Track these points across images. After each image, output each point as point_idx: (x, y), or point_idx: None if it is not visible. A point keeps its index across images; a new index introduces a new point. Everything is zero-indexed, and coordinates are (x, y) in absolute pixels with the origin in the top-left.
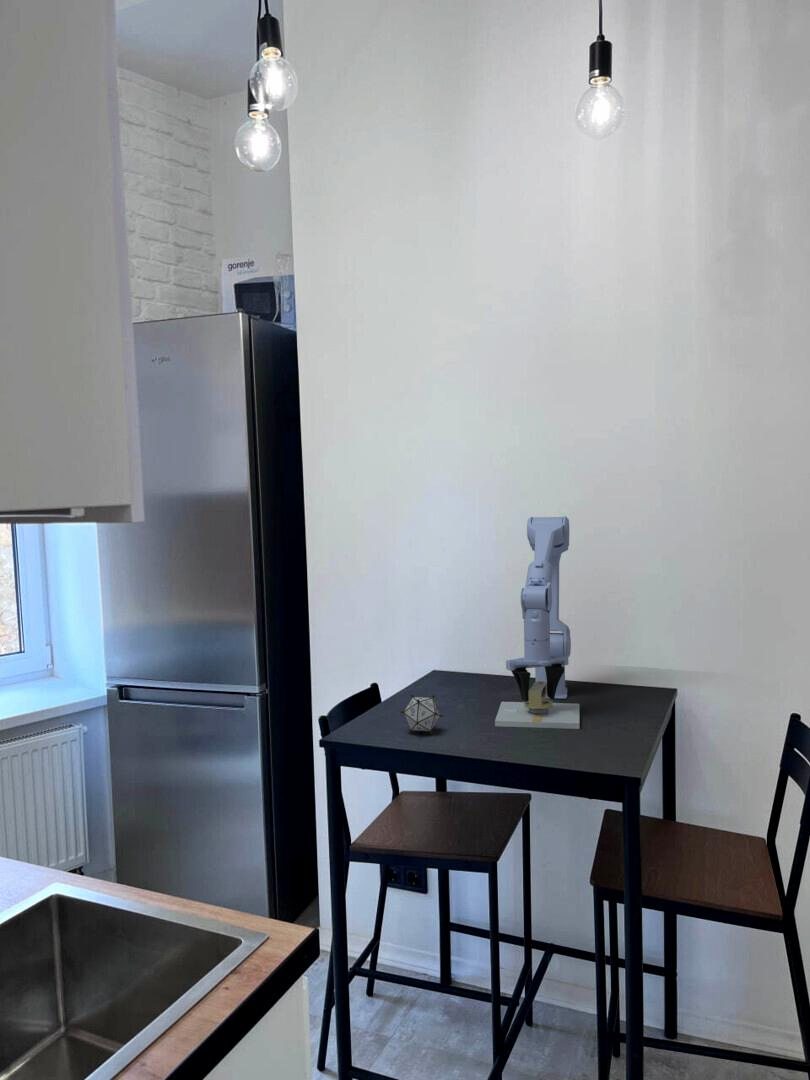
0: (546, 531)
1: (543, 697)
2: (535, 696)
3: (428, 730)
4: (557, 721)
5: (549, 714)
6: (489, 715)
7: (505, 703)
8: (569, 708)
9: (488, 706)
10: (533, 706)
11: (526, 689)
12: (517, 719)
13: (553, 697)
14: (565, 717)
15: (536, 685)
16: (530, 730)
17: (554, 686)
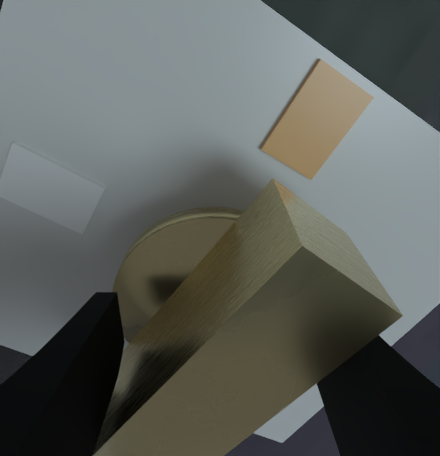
0: None
1: (204, 284)
2: (334, 248)
3: None
4: (204, 11)
5: (175, 198)
6: (400, 350)
7: (282, 421)
8: (4, 260)
9: (320, 437)
10: (321, 214)
11: (387, 359)
12: (417, 181)
13: (101, 296)
14: (100, 88)
15: (209, 432)
16: (414, 23)
17: (62, 359)
